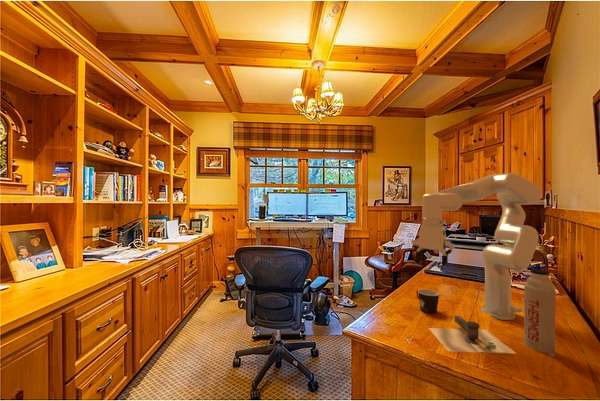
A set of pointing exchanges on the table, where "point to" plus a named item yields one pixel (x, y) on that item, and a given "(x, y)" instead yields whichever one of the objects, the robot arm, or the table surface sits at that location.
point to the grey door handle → (469, 329)
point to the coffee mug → (428, 300)
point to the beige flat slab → (469, 341)
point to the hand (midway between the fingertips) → (432, 262)
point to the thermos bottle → (539, 312)
